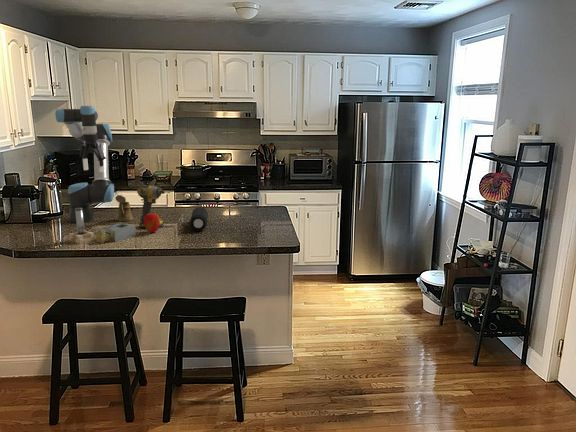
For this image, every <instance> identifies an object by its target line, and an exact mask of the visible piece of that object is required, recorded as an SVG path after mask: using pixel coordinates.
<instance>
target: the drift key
mask: <svg viewBox="0 0 576 432" xmlns="http://www.w3.org/2000/svg"><path fill="white" fill-rule="evenodd" d="M95 240H96V243H100V244H104V243H106V242H109V241H111V236H110V233H104V234H102V233H96V234H95Z"/></svg>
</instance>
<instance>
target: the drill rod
mask: <svg viewBox="0 0 576 432" xmlns="http://www.w3.org/2000/svg"><path fill="white" fill-rule="evenodd" d="M75 212H76V222H77V223H76V230H77V231H76V232H78V235H83V234H85V231H86V230H85V222H84V219H83V209H82V208H75Z"/></svg>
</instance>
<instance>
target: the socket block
mask: <svg viewBox="0 0 576 432" xmlns="http://www.w3.org/2000/svg"><path fill="white" fill-rule="evenodd" d="M136 231H137V229H136V224H129V223H127V222H119V223H116V224H112V225H108V226H104V227H101V234H104V233H110V236H111V240H110V241H111V242H120V241H123V240H126V239H129V238H132V237H135V236H137V232H136Z"/></svg>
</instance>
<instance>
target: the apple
mask: <svg viewBox="0 0 576 432" xmlns="http://www.w3.org/2000/svg"><path fill="white" fill-rule="evenodd" d="M159 224H160V217H159V215H158V214H157V213H153V212H150V214H146V215H145V217H144V226H145V228H144V229H145V230H146V231H147V232H148V233H149V234H153V233H156V232H157V231H158V230H159Z"/></svg>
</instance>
